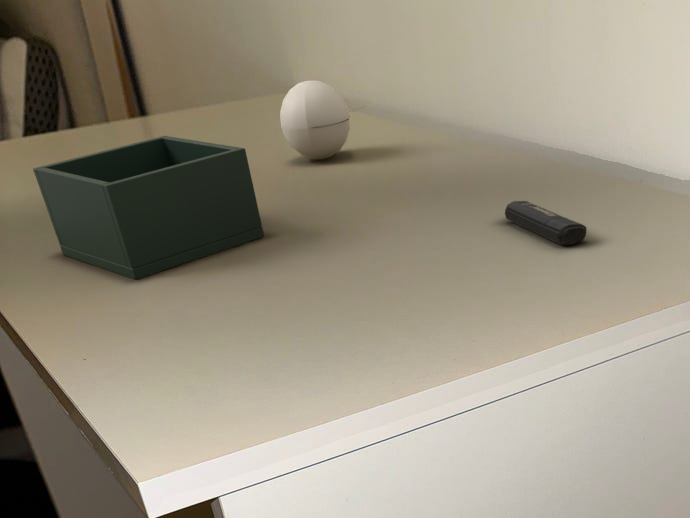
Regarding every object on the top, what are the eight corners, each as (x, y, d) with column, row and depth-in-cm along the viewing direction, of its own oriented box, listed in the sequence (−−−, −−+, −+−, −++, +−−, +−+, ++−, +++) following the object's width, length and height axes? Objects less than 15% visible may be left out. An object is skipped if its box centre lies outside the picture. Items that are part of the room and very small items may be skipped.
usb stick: (590, 242, 70) (590, 220, 69) (560, 249, 69) (559, 228, 68) (529, 215, 77) (529, 196, 76) (502, 222, 76) (500, 202, 75)
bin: (62, 254, 79) (32, 168, 75) (186, 217, 86) (164, 135, 82) (135, 279, 72) (106, 185, 68) (264, 236, 79) (245, 148, 74)
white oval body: (301, 171, 97) (286, 90, 92) (279, 159, 102) (264, 82, 97) (388, 153, 100) (378, 74, 95) (363, 142, 105) (352, 67, 100)
